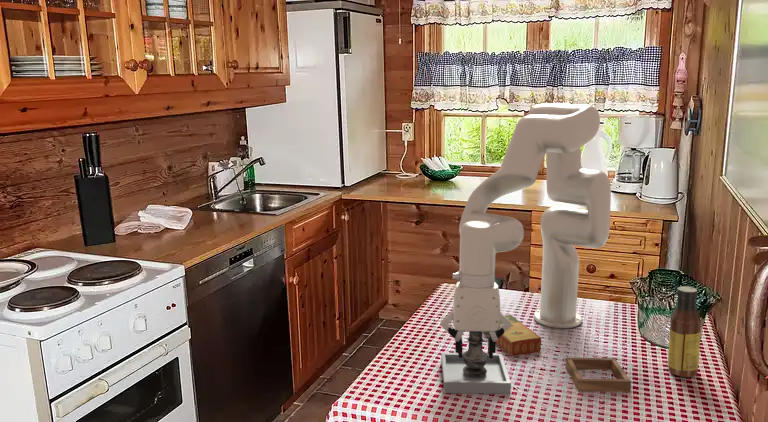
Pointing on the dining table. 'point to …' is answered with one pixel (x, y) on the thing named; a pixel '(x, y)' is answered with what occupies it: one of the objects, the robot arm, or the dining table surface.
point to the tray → (463, 383)
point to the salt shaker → (475, 356)
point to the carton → (518, 339)
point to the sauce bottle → (684, 335)
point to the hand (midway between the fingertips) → (475, 354)
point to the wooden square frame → (598, 384)
